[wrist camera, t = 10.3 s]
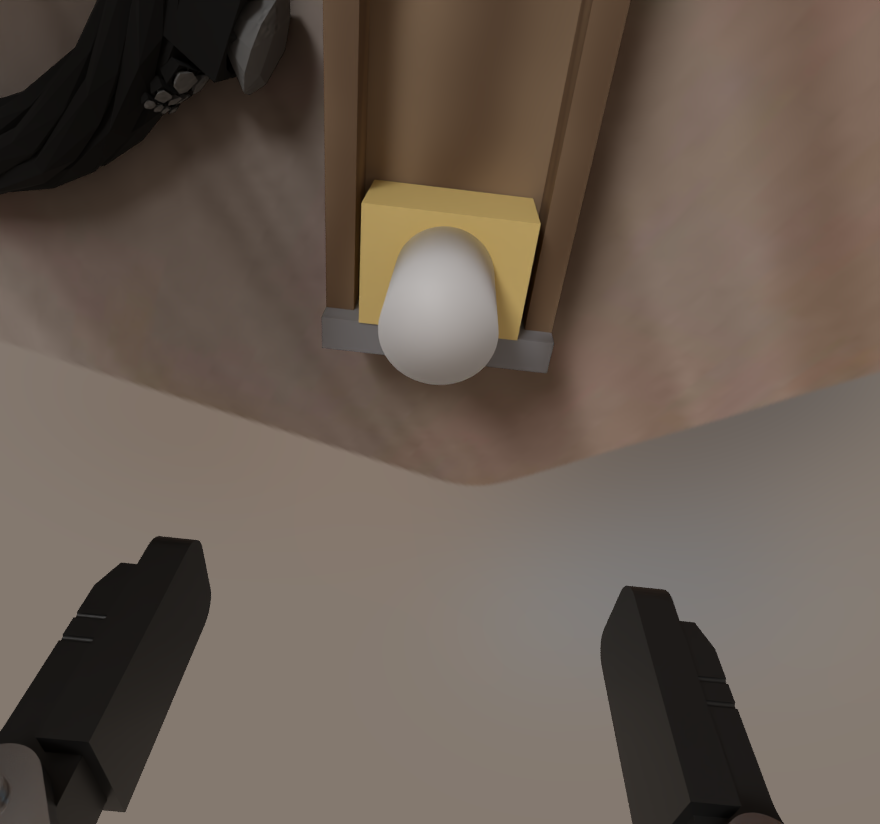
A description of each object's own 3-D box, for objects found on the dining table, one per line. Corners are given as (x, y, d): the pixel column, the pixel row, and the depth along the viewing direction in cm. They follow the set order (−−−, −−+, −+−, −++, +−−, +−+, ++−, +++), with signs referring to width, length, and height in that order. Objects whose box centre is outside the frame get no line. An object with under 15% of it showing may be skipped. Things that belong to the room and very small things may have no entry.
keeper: (370, 289, 28) (335, 385, 21) (374, 179, 25) (335, 248, 18) (512, 305, 28) (525, 406, 21) (533, 198, 25) (555, 274, 18)
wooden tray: (342, 300, 30) (322, 347, 26) (347, -391, 17) (307, -513, 13) (536, 322, 30) (546, 373, 26) (683, -344, 17) (747, -451, 13)
